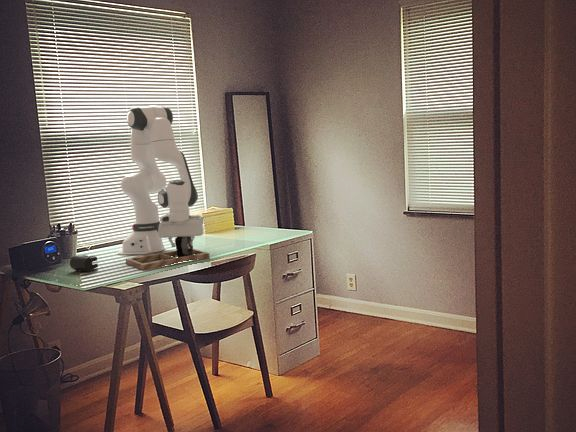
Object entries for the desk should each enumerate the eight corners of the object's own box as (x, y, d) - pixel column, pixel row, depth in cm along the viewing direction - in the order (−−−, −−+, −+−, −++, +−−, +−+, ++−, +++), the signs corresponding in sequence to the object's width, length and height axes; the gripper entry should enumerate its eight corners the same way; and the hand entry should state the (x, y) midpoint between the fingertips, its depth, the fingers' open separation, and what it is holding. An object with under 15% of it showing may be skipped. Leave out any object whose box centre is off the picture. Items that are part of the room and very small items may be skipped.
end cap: (70, 272, 266) (68, 256, 265) (83, 268, 272) (82, 253, 271) (85, 274, 261) (84, 258, 260) (99, 270, 267) (97, 255, 266)
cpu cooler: (189, 258, 276) (185, 236, 275) (177, 260, 277) (173, 237, 276) (194, 254, 286) (191, 232, 285) (182, 255, 287) (179, 234, 286)
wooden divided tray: (142, 270, 260) (142, 264, 260) (126, 263, 277) (125, 258, 277) (209, 258, 278) (209, 253, 278) (190, 252, 294) (189, 247, 294)
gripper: (203, 214, 282) (205, 243, 284) (159, 216, 282) (161, 246, 284) (201, 216, 276) (204, 246, 278) (156, 218, 276) (158, 248, 278)
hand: (182, 246), depth 281 cm, fingers open, 7 cm apart
